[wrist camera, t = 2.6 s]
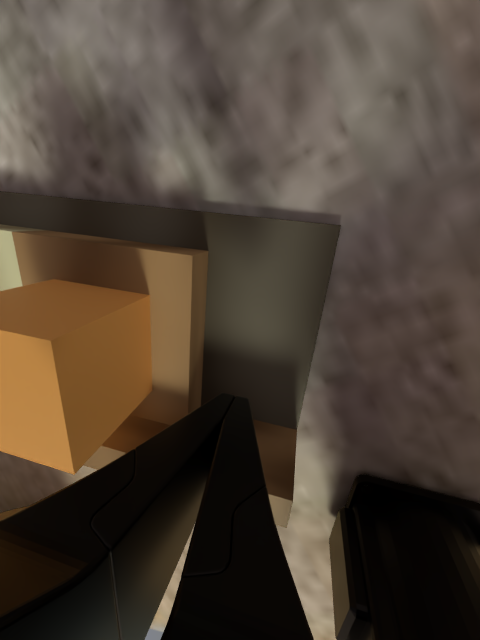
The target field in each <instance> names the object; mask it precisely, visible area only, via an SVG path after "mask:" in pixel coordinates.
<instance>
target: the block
mask: <svg viewBox="0 0 480 640" xmlns="http://www.w3.org/2000/svg"><path fill="white" fill-rule="evenodd" d="M151 391H152V357H151V322H150V295H146V294H140V293H134V292H128V291H122V290H116V289H110V288H104V287H98V286H92V285H86V284H80V283H74V282H68V281H62V280H56V279H52V280H47V281H43V282H39V283H34V284H30V285H25V286H21V287H16V288H12V289H8V290H3V291H0V451H2V452H5V453H8V454H11V455H14V456H17V457H21V458H24V459H27V460H30V461H33V462H36V463H39V464H43V465H46V466H49V467H52V468H55V469H58V470H61V471H65V472H68V473H71V474H75V473H76V472H77V471H78V470H79V469H80V468H81V467H82V466H83V465H84V464H85V463H86V461H87V460H88V459H89V458H90V457H91V456H92V455H93V454H94V453H95V452H96V451H97V450H98V448H99V447H100V446H101V445H102V444H103V443H104V442H105V441H106V440H107V439H108V438H109V437H110V435H111V434H112V433H113V432H114V431H115V430H116V429H117V428H118V427H119V426H120V425H121V424H122V423H123V421H124V420H125V419H126V418H127V417H128V416H129V415H130V414H131V413H132V412H133V411H134V410H135V408H136V407H137V406H138V405H139V404H140V403H141V402H142V401H143V400H144V399H145V398H146V397H147V396H148V394H149V393H150V392H151Z"/></svg>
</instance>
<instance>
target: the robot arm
mask: <svg viewBox="0 0 480 640" xmlns="http://www.w3.org/2000/svg"><path fill="white" fill-rule="evenodd" d="M365 485H367V486H365ZM195 522H196V523H195ZM194 524H195V527H194ZM193 527H194V530H193V534H192V538H191V542H190V545H189V549H188V553H187V557H186V560H185V564H184V568H183V572H182V575H181V581H180V583H179V587H178V590H177V594H176V597H175V601H174V604H173V607H172V610H171V614H170V617H169V620H168V622H167V625H166V628H165V630H164V633H163V635H162V637H161V640H314V639H313V636H312V633H311V630H310V627H309V625H308V622H307V619H306V616H305V613H304V610H303V607H302V604H301V601H300V598H299V595H298V592H297V589H296V586H295V583H294V580H293V577H292V575H291V572H290V569H289V566H288V563H287V560H286V557H285V554H284V551H283V548H282V544H281V541H280V538H279V535H278V531H277V528H276V525H275V521H274V517H273V513H272V508H271V504H270V500H269V495H268V490H267V488H266V481H265V476H264V471H263V466H262V461H261V457H260V452H259V447H258V442H257V437H256V432H255V427H254V422H253V417H252V413H251V408H250V403H249V399H248V398H246V397H241V396H236V397H235V396H234V395H233V394H228V393H221V394H219V395H218V396H216V397H215V398H213V399H211V400H210V401H208V402H207V403H205V404H203V405H202V406H200V407H199V408H197V409H196V410H194V411H192V412H191V413H189V414H188V415H186V416H184V417H183V418H181V419H180V420H178V421H177V422H175V423H173V424H172V425H170V426H169V427H167V428H165V429H164V430H162V431H161V432H159V433H157V434H156V435H154V436H153V437H151V438H150V439H148V440H146V441H145V442H143V443H142V444H140V445H138V446H137V447H136V448H135V450H134V449H132V450H130V451H129V452H127V453H126V454H124V455H122V456H121V457H119V458H117V459H116V460H114V461H112V462H111V463H109V464H107V465H106V466H104V467H102V468H101V469H99V470H97V471H95V472H93V473H92V474H90V475H88V476H86V477H84V478H82V479H81V480H79V481H77V482H75V483H73V484H71V485H69V486H67V487H65V488H63V489H61V490H60V491H58V492H56V493H54V494H52V495H50V496H48V497H46V498H44V499H42V500H40V501H38V502H36V503H35V504H33V505H31V506H29V507H27V508H25V509H23V510H21V511H19V512H17V513H15V514H13V515H11V516H9V517H7V518H5V519H3V520H1V521H0V640H145V637H146V635H147V632H148V630H149V628H150V626H151V623H152V621H153V619H154V616H155V614H156V612H157V610H158V607H159V605H160V603H161V600H162V598H163V596H164V593H165V591H166V589H167V587H168V584H169V582H170V580H171V577H172V575H173V573H174V570H175V568H176V566H177V563H178V561H179V559H180V557H181V554H182V552H183V550H184V547H185V545H186V543H187V540H188V538H189V536H190V534H191V531H192V529H193ZM329 544H330V559H331V575H332V590H333V605H334V621H335V636H336V639H337V640H480V504H479V503H475V502H471V501H467V500H463V499H459V498H455V497H451V496H448V495H444V494H440V493H436V492H432V491H428V490H424V489H420V488H417V487H413V486H409V485H405V484H401V483H397V482H393V481H390V480H386V479H382V478H378V477H374V476H370V475H365V474H363V475H359V476H357V477H356V478H355V480H354V483H353V486H352V489H351V492H350V495H349V497H348V500H347V503H346V506H345V507H342V508H341V509H340V510H339V511H338V514H337V517H336V520H335V523H334V526H333V529H332V532H331V535H330V539H329Z"/></svg>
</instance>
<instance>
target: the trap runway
mask: <svg viewBox="0 0 480 640" xmlns="http://www.w3.org/2000/svg"><path fill="white" fill-rule="evenodd" d="M340 227H341V226H340V225H330V224H320V223H311V222H301V221H291V220H281V219H271V218H261V217H251V216H241V215H231V214H221V213H211V212H201V211H191V210H181V209H171V208H161V207H151V206H141V205H131V204H121V203H111V202H101V201H91V200H81V199H71V198H62V197H52V196H42V195H32V194H22V193H12V192H2V191H0V291H3V290H8V289H12V288H16V287H21V286H25V285H30V284H34V283H39V282H43V281H47V280H52V279H56V280H62V281H68V282H74V283H80V284H86V285H92V286H98V287H104V288H110V289H116V290H122V291H128V292H134V293H140V294H146V295H150V322H151V357H152V391H151V392H150V393H149V394H148V396H147V397H146V398H145V399H144V400H143V401H142V402H141V403H140V404H139V405H138V406H137V407H136V408H135V410H134V411H133V412H132V413H131V414H130V415H129V416H128V417H127V418H126V419H125V420H124V421H123V423H122V424H121V425H120V426H119V427H118V428H117V429H116V430H115V431H114V432H113V433H112V434H111V435H110V437H109V438H108V439H107V440H106V441H105V442H104V443H103V444H102V445H101V446H100V447H99V448H98V450H97V451H96V452H95V453H94V454H93V455H92V456H91V457H90V458H89V459H88V460H87V461H86V463H85V464H84V466H87V467H91V468H94V469H97V470H99V469H101V468H102V467H104V466H106V465H107V464H109V463H111V462H112V461H114V460H116V459H117V458H119V457H121V456H122V455H124V454H126V453H127V452H129V451H130V450H132V449H134V450H135V448H136V447H137V446H138V445H140V444H142V443H143V442H145V441H146V440H148V439H150V438H151V437H153V436H154V435H156V434H157V433H159V432H161V431H162V430H164V429H165V428H167V427H169V426H170V425H172V424H173V423H175V422H177V421H178V420H180V419H181V418H183V417H184V416H186V415H188V414H189V413H191V412H192V411H194V410H196V409H197V408H199V407H200V406H202V405H203V404H205V403H207V402H208V401H210V400H211V399H213V398H215V397H216V396H218V395H219V394H221V393H228V394H233V395H234V396H235V397H236V396H241V397H246V398H248V399H249V403H250V408H251V413H252V417H253V422H254V427H255V432H256V437H257V442H258V447H259V452H260V457H261V461H262V466H263V471H264V476H265V481H266V488H267V490H268V495H269V500H270V504H271V508H272V513H273V517H274V521H275V525H279V526H282V527H285V528H287V524H288V520H289V516H290V511H291V507H292V503H293V491H294V473H295V455H296V437H297V427H298V422H299V418H300V413H301V408H302V404H303V399H304V394H305V390H306V385H307V381H308V376H309V371H310V367H311V362H312V357H313V353H314V348H315V343H316V339H317V334H318V329H319V325H320V320H321V316H322V311H323V306H324V302H325V297H326V292H327V288H328V283H329V278H330V274H331V269H332V264H333V260H334V255H335V250H336V246H337V241H338V237H339V232H340Z"/></svg>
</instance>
